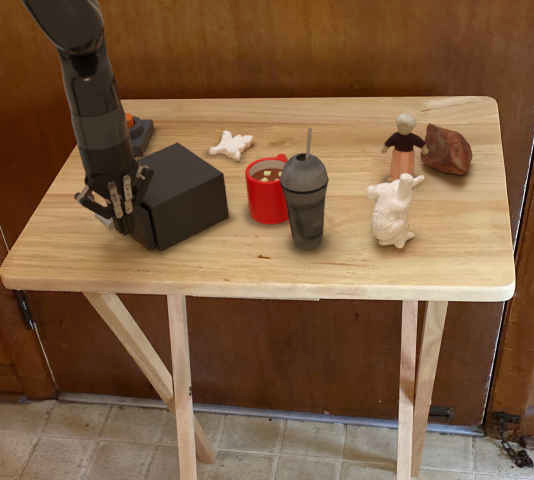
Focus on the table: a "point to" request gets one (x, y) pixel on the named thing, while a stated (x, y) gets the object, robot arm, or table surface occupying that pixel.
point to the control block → (141, 134)
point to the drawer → (137, 225)
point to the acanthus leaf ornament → (232, 145)
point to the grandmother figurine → (403, 147)
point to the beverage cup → (305, 197)
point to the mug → (266, 190)
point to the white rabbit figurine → (392, 210)
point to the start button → (129, 120)
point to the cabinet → (183, 195)
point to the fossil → (446, 150)
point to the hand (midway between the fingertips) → (126, 232)
